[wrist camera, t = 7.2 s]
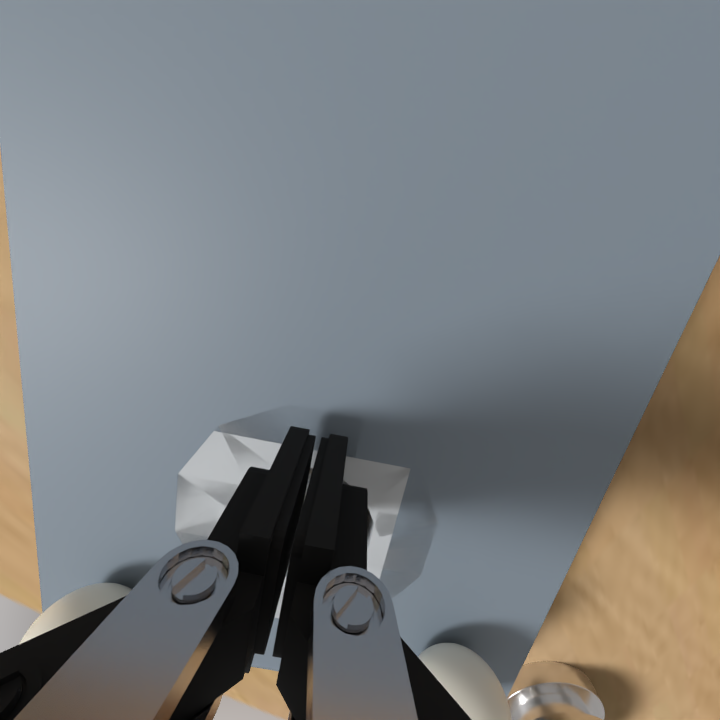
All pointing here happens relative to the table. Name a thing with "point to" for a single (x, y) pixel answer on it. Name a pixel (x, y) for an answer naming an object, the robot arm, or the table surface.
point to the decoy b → (467, 680)
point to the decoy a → (75, 606)
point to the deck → (353, 273)
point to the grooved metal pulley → (553, 694)
